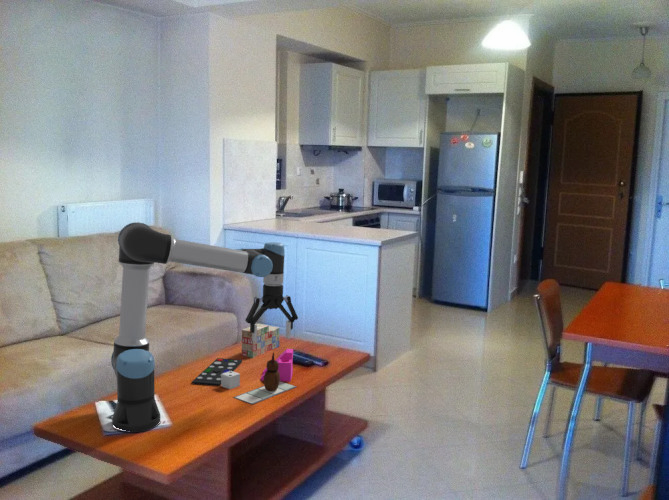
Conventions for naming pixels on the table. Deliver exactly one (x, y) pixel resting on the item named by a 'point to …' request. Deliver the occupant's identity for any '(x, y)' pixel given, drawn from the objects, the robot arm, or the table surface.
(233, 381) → the die
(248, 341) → the stack of blocks
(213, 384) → the remote control
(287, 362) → the bracket
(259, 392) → the game mat
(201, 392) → the table surface
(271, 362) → the wooden figurine
